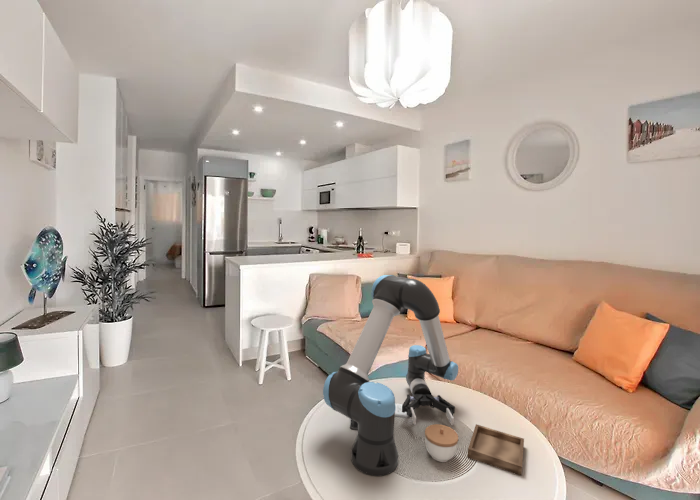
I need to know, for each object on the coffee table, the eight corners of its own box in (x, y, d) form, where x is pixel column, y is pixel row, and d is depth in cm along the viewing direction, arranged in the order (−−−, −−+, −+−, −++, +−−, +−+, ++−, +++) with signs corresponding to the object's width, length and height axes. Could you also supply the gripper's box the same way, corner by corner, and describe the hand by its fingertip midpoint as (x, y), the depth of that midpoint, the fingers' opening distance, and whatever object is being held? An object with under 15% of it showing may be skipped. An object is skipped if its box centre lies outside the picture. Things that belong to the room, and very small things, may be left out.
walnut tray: (467, 457, 113) (468, 448, 112) (475, 431, 127) (475, 424, 126) (521, 476, 105) (522, 466, 105) (523, 446, 119) (524, 438, 119)
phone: (350, 427, 126) (352, 405, 140) (350, 430, 126) (352, 408, 141) (371, 429, 125) (371, 406, 140) (371, 432, 125) (371, 409, 140)
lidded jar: (418, 446, 117) (420, 420, 117) (447, 443, 119) (449, 418, 118) (431, 468, 107) (433, 440, 106) (463, 465, 109) (465, 437, 108)
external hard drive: (377, 404, 144) (406, 407, 143) (376, 415, 136) (407, 418, 135) (377, 401, 144) (406, 403, 143) (376, 411, 136) (408, 414, 134)
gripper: (449, 400, 144) (467, 431, 123) (390, 399, 143) (398, 430, 122) (450, 383, 143) (468, 412, 122) (391, 382, 143) (399, 410, 122)
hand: (433, 421), depth 122 cm, fingers open, 13 cm apart
